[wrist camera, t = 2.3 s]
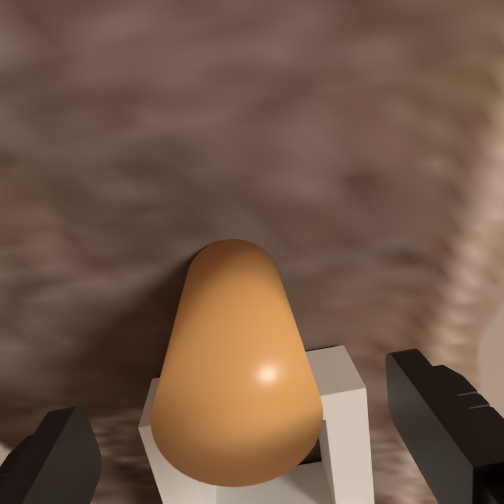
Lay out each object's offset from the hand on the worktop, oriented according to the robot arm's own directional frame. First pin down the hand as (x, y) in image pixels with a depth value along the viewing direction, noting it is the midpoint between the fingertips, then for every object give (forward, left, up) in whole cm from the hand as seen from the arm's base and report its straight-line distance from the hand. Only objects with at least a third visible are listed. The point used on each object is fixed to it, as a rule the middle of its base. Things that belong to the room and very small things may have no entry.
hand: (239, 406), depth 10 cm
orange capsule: (-1, 0, -7) cm, 7 cm away
